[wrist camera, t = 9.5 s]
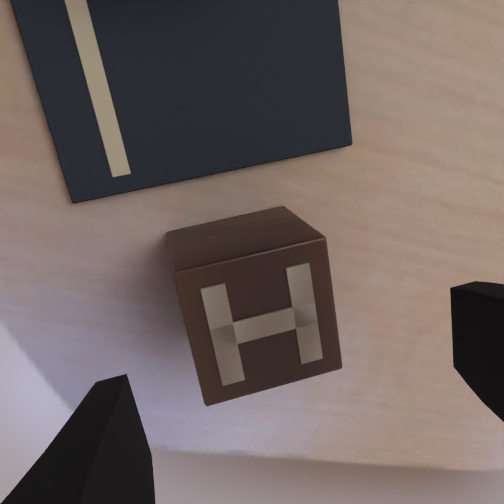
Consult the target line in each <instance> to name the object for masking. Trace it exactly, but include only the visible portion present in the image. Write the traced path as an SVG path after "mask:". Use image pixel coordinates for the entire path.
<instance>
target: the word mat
mask: <svg viewBox="0 0 504 504" xmlns="http://www.w3.org/2000/svg"><path fill="white" fill-rule="evenodd" d="M10 1H11V4H12V8H13V11H14V14H15V17H16V21H17V24H18V27H19V30H20V34H21V37H22V40H23V44H24V47H25V50H26V53H27V57H28V60H29V63H30V66H31V70H32V73H33V76H34V79H35V83H36V86H37V89H38V93H39V96H40V99H41V102H42V106H43V109H44V112H45V115H46V119H47V122H48V125H49V129H50V132H51V135H52V138H53V142H54V145H55V148H56V151H57V155H58V158H59V161H60V164H61V168H62V171H63V174H64V178H65V181H66V184H67V187H68V191H69V194H70V197H71V200H72V203H78V202H83V201H88V200H92V199H97V198H102V197H107V196H112V195H116V194H121V193H126V192H131V191H135V190H140V189H145V188H150V187H155V186H159V185H164V184H169V183H174V182H178V181H183V180H188V179H193V178H198V177H202V176H207V175H212V174H217V173H221V172H226V171H231V170H236V169H241V168H245V167H250V166H255V165H260V164H264V163H269V162H274V161H279V160H284V159H288V158H293V157H298V156H303V155H307V154H312V153H317V152H322V151H327V150H331V149H336V148H341V147H346V146H350V145H352V135H351V125H350V116H349V106H348V96H347V86H346V76H345V66H344V56H343V46H342V37H341V27H340V17H339V7H338V0H10Z"/></svg>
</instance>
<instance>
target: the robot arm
mask: <svg viewBox="0 0 504 504" xmlns="http://www.w3.org/2000/svg"><path fill="white" fill-rule="evenodd" d="M450 292H451V315H452V339H453V363H454V368H455V369H456V370H457V371H458V373H459V374H460V375H461V377H462V378H463V379H464V380H465V382H466V383H467V384H468V385H469V387H470V388H471V389H472V390H473V391H474V392H475V394H476V395H477V396H478V397H479V398H480V399H481V401H482V402H483V403H484V404H485V405H486V406H487V407H488V408H490V409H491V410H492V411H493V412H494V413H495V414H496V415H497V416H498V417H499V418H500V419H501V420H502V421H503V422H504V284H497V283H490V282H478V281H475V282H471V283H467V284H463V285H459V286H456V287H452V288H450ZM1 504H155V492H154V478H153V466H152V455H151V452H150V448H149V445H148V442H147V439H146V435H145V432H144V429H143V426H142V422H141V419H140V416H139V413H138V409H137V406H136V403H135V400H134V396H133V393H132V390H131V387H130V383H129V380H128V377H127V374H125V375H121V376H117V377H113V378H110V379H106V380H102V381H98V382H96V383H95V384H94V385H93V387H92V388H91V389H90V391H89V392H88V393H87V395H86V396H85V397H84V399H83V400H82V402H81V403H80V404H79V406H78V407H77V409H76V410H75V411H74V413H73V414H72V416H71V417H70V418H69V420H68V421H67V422H66V424H65V425H64V427H63V428H62V429H61V430H60V432H59V433H58V434H57V436H56V437H55V438H54V440H53V441H52V442H51V444H50V445H49V446H48V448H47V449H46V450H45V452H44V453H43V454H42V455H41V456H40V458H39V459H38V460H37V461H36V462H35V464H34V465H33V466H32V467H31V469H30V470H29V471H28V472H27V473H26V474H25V476H24V477H23V478H22V479H21V481H20V482H19V483H18V484H17V485H16V487H15V488H14V489H13V490H12V491H11V493H10V494H9V495H8V496H7V497H6V498H5V499H4V501H3V502H2V503H1Z"/></svg>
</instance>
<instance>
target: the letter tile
mask: <svg viewBox="0 0 504 504" xmlns="http://www.w3.org/2000/svg"><path fill="white" fill-rule="evenodd" d="M166 235H167V242H168V248H169V255H170V261H171V268H172V274H173V278H174V282H175V286H176V291H177V295H178V299H179V303H180V307H181V311H182V315H183V319H184V323H185V327H186V331H187V335H188V339H189V343H190V347H191V351H192V355H193V359H194V363H195V367H196V372H197V376H198V380H199V384H200V388H201V392H202V396H203V400H204V404H205V405H206V406H210V405H213V404H217V403H221V402H224V401H228V400H231V399H235V398H238V397H242V396H245V395H249V394H253V393H256V392H260V391H263V390H267V389H270V388H274V387H277V386H281V385H285V384H288V383H292V382H295V381H299V380H302V379H306V378H310V377H313V376H317V375H320V374H324V373H327V372H331V371H334V370H338V369H341V368H342V359H341V352H340V344H339V336H338V328H337V320H336V312H335V305H334V297H333V289H332V281H331V273H330V265H329V258H328V250H327V242H326V237H325V236H324V235H322V234H321V233H320V232H318V231H317V230H316V229H314V228H313V227H311V226H310V225H309V224H307V223H306V222H305V221H303V220H302V219H301V218H299V217H298V216H297V215H295V214H294V213H292V212H291V211H290V210H288V209H287V208H286V207H284V206H281V207H277V208H272V209H268V210H263V211H259V212H254V213H250V214H245V215H241V216H236V217H232V218H227V219H223V220H219V221H214V222H210V223H205V224H201V225H196V226H192V227H187V228H183V229H178V230H174V231H169V232H167V234H166Z"/></svg>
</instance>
